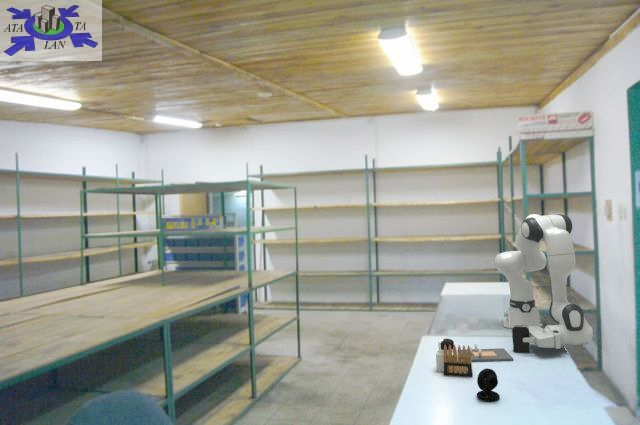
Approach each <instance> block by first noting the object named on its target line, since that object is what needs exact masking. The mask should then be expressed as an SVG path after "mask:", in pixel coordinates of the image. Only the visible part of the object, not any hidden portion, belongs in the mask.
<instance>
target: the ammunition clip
mask: <svg viewBox="0 0 640 425" xmlns="http://www.w3.org/2000/svg"><path fill="white" fill-rule="evenodd" d="M470 347H471V346H470V345H469V344H468V345H467V356H466V346H465V345H463V346H462V347H461V346H460V344H458V347H456V344H454V347H453V356H452V349H451V345H449V352H448V354H447V347H446V345H444V372H443V376H448V377H449V376H450V377H461V378H462V377H463V378H473V376H474V375H473V374H474V373H473V365H472V363H473V362H472V360H471V352H470ZM461 348H462V349H461ZM456 350H458V351H457V352H456ZM461 350H463V355H461ZM448 366H449V368H448ZM453 369H454V371H453Z"/></svg>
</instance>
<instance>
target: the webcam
mask: <svg viewBox="0 0 640 425" xmlns="http://www.w3.org/2000/svg"><path fill="white" fill-rule="evenodd" d="M476 383H477V387H478V388H479V389H480V390H479V391H478V392H477V393H476V398H477V399H478V400H480V401H483V402H488V403H490V402H491V403H492V402H497V401H499V400H500V394H499V393H498V392H496V391H493V390H494V389H496V388H497V386H498V384H499V379H498V375H497V372H495V370H494V369H491V368H484V369H482V370H481V371H480V372H479V373H478V375H477V379H476ZM484 395H486V396H484Z"/></svg>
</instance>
